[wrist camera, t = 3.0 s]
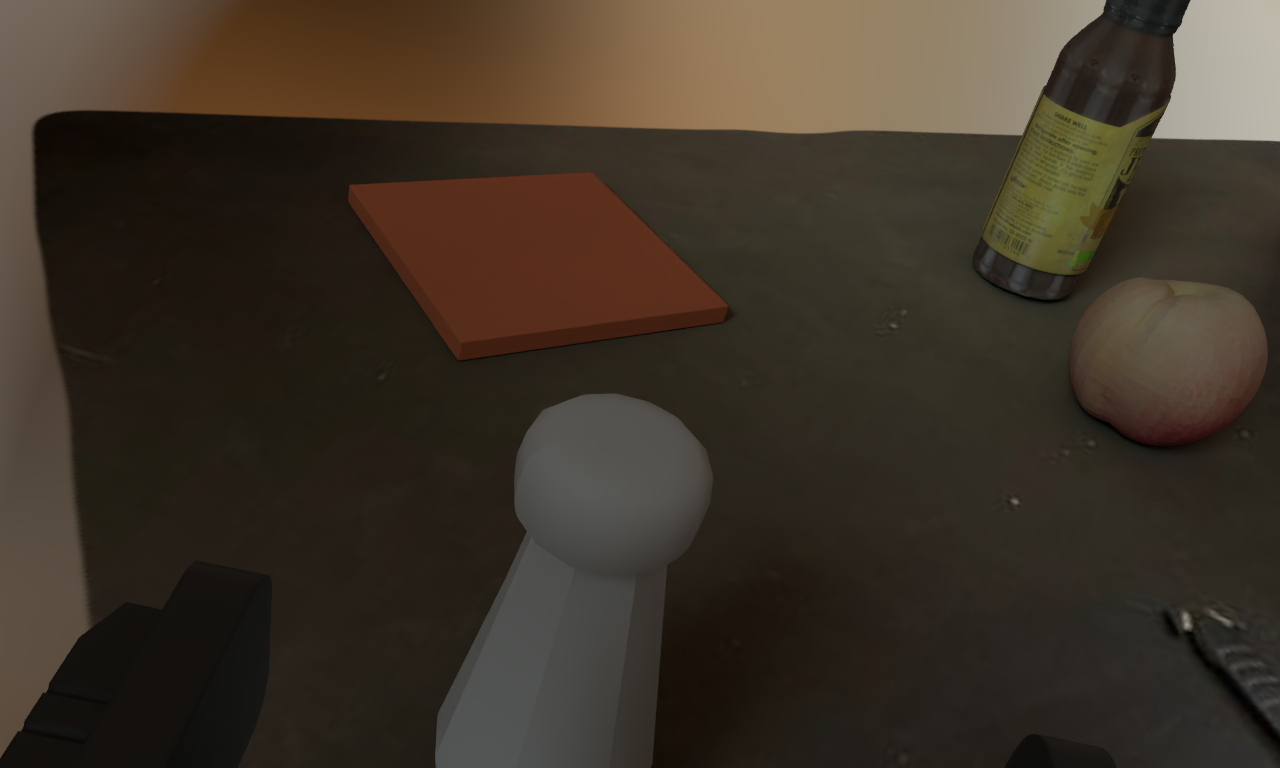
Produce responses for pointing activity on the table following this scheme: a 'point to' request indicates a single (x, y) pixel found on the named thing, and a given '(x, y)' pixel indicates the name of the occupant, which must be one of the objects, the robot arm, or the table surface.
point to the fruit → (1167, 359)
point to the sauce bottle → (1081, 149)
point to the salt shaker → (581, 593)
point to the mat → (531, 262)
